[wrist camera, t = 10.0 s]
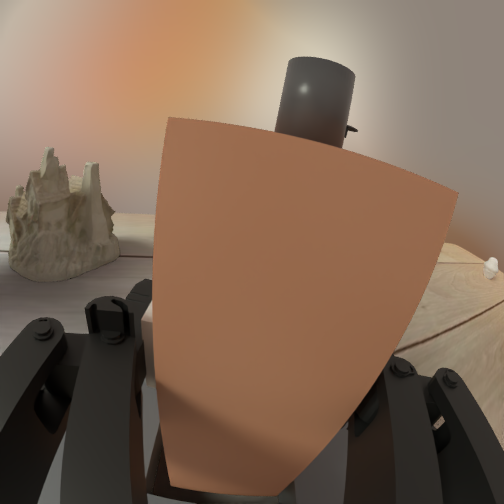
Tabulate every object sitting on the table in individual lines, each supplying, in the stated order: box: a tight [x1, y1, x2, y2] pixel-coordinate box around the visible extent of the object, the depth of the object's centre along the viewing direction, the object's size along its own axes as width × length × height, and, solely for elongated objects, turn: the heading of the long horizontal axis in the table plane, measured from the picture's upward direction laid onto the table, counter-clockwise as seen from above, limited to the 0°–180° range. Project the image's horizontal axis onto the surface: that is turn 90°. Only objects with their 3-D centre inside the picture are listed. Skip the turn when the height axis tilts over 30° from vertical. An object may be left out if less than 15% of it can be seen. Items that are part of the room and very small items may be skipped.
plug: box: [152, 57, 459, 496], centre depth 8 cm, size 5×5×16 cm
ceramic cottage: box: [6, 147, 120, 282], centre depth 28 cm, size 16×16×15 cm
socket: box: [38, 377, 348, 504], centre depth 12 cm, size 18×18×3 cm
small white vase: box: [484, 257, 498, 279], centre depth 61 cm, size 6×6×7 cm
